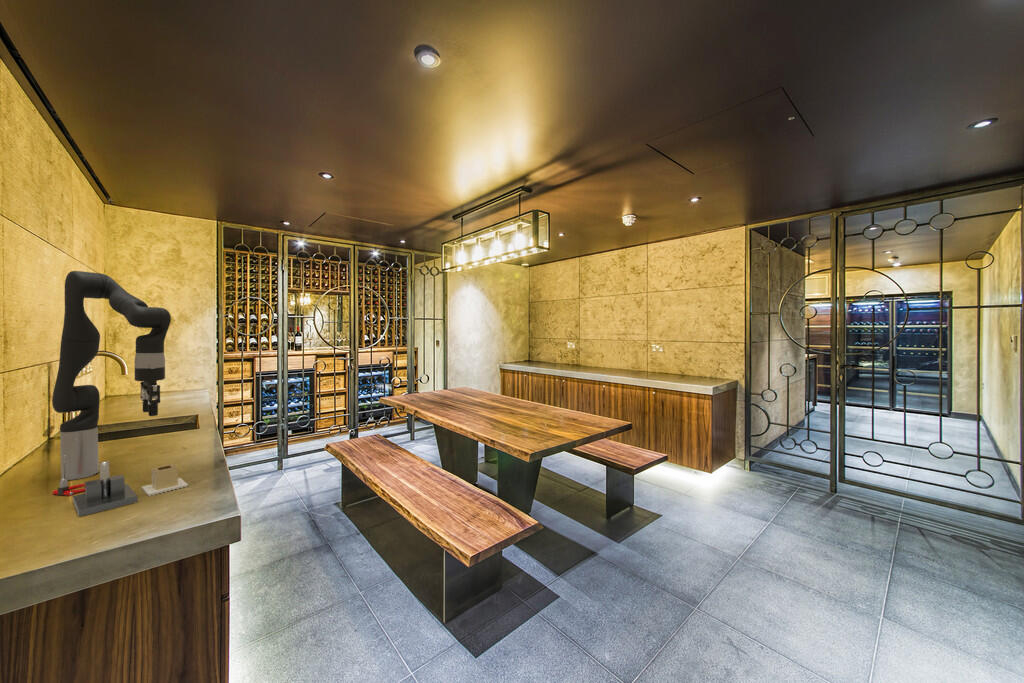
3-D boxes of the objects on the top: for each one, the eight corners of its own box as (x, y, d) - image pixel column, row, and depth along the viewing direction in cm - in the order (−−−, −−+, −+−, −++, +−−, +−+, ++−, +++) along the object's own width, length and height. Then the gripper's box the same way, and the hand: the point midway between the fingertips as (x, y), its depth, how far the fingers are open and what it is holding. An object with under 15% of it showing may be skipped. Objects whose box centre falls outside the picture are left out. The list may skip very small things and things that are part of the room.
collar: (151, 486, 130) (151, 468, 130) (173, 481, 134) (173, 463, 134) (155, 490, 126) (155, 471, 126) (177, 484, 131) (177, 467, 131)
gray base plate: (73, 502, 119) (72, 462, 119) (127, 489, 129) (126, 452, 128) (79, 517, 109) (78, 473, 109) (137, 502, 119) (136, 462, 119)
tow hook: (85, 485, 134) (49, 495, 125) (86, 448, 134) (51, 455, 125) (105, 487, 132) (70, 497, 123) (106, 449, 133) (72, 456, 124)
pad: (141, 489, 129) (141, 486, 129) (180, 480, 137) (180, 477, 137) (148, 496, 123) (148, 494, 123) (188, 486, 131) (188, 484, 131)
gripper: (130, 365, 131) (130, 412, 131) (139, 368, 123) (139, 419, 123) (159, 364, 137) (159, 409, 137) (170, 367, 129) (170, 415, 129)
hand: (150, 413), depth 130 cm, fingers open, 8 cm apart
